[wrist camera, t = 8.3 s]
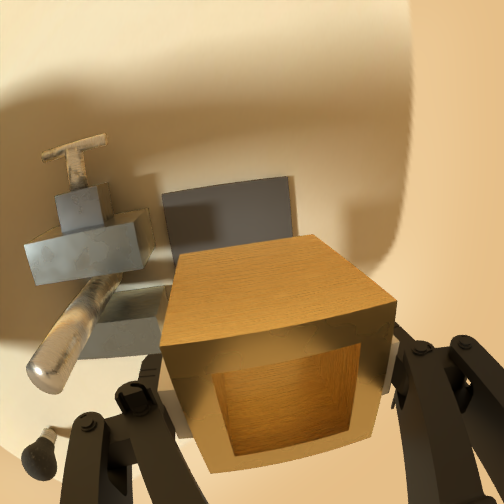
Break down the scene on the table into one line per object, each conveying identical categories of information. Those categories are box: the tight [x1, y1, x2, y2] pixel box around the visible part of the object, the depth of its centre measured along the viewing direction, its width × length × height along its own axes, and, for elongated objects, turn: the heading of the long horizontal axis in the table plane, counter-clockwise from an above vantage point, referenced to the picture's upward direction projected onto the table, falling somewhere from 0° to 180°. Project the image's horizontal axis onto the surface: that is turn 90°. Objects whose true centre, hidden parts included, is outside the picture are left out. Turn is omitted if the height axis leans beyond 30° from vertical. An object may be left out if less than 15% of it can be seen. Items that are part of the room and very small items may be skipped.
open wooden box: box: [159, 234, 397, 474], centre depth 13 cm, size 7×7×8 cm
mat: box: [162, 176, 293, 269], centre depth 27 cm, size 11×11×1 cm
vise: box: [24, 133, 168, 394], centre depth 18 cm, size 10×18×16 cm, turn 7°
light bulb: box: [21, 428, 57, 481], centre depth 27 cm, size 6×6×10 cm
